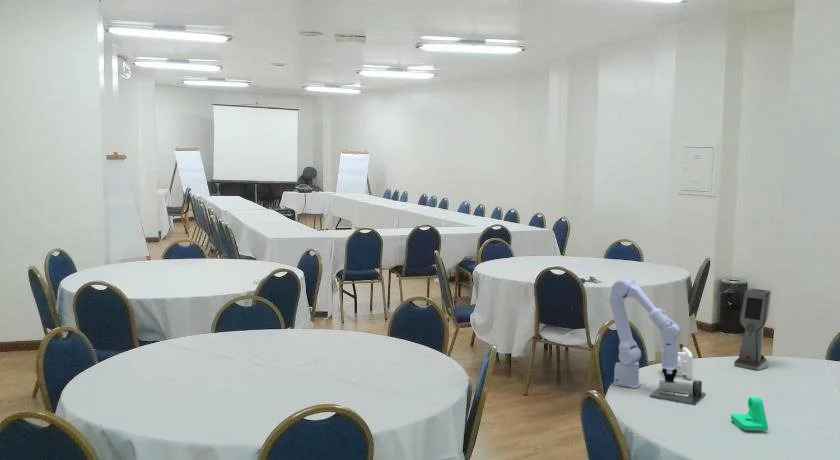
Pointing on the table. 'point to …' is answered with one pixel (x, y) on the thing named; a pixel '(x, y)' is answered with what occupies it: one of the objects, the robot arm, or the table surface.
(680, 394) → the label
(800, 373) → the table surface
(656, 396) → the lid
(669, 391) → the label
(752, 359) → the thermal camera
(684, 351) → the cable organizer
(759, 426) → the camera mount
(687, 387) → the bar
